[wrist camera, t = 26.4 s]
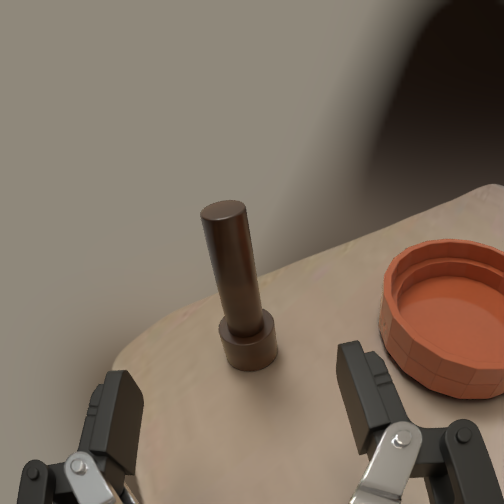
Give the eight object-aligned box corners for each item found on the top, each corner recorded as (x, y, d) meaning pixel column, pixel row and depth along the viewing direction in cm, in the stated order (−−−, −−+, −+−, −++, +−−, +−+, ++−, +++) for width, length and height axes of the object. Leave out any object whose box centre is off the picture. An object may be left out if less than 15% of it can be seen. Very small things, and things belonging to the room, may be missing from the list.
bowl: (340, 332, 25) (342, 294, 23) (433, 256, 31) (438, 223, 29) (493, 440, 13) (520, 409, 11) (549, 317, 20) (565, 283, 18)
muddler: (217, 349, 25) (177, 211, 19) (258, 325, 27) (234, 189, 21) (244, 380, 22) (207, 234, 16) (287, 353, 24) (272, 206, 18)
